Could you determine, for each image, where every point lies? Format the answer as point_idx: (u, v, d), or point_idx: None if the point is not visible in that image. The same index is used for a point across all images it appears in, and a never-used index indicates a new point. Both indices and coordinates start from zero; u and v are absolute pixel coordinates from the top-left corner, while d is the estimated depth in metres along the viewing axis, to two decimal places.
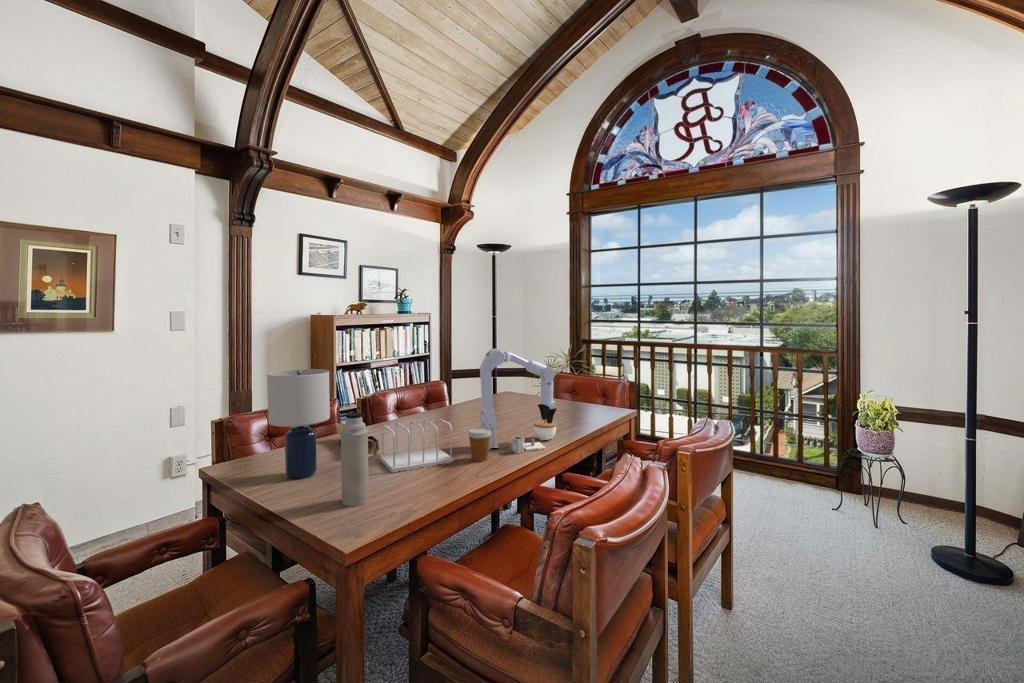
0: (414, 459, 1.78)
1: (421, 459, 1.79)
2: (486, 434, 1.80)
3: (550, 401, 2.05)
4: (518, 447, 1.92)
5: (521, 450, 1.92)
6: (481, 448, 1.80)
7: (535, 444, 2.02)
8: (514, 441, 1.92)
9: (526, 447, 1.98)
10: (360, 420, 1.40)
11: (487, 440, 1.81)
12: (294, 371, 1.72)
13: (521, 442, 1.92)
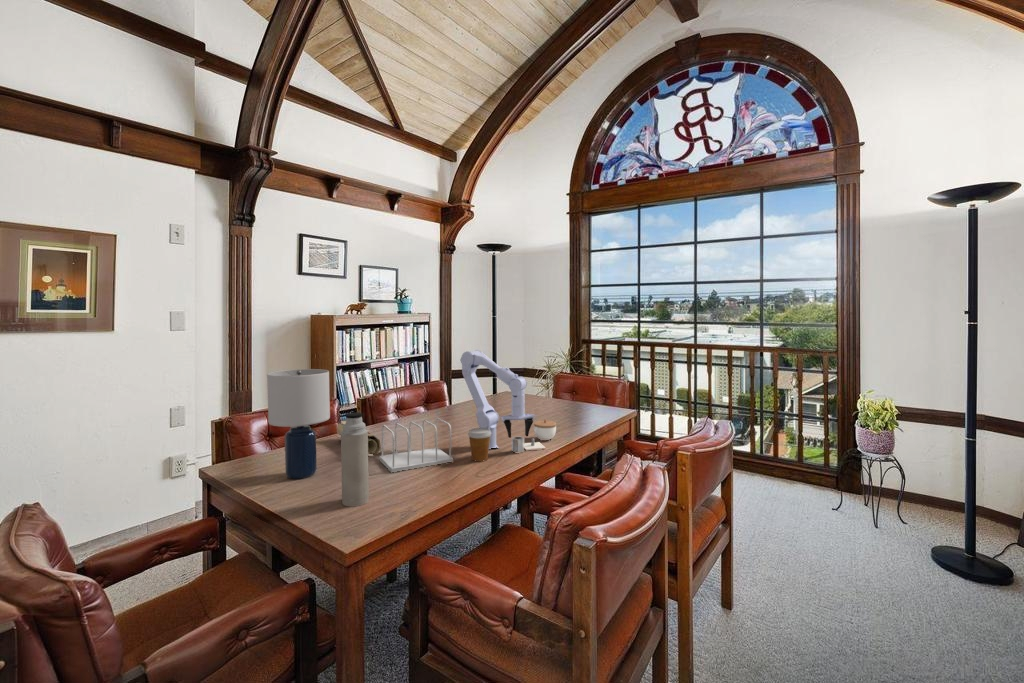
0: (414, 459, 1.78)
1: (420, 459, 1.79)
2: (486, 434, 1.80)
3: (512, 414, 1.92)
4: (518, 447, 1.92)
5: (521, 450, 1.92)
6: (481, 448, 1.80)
7: (535, 444, 2.02)
8: (514, 441, 1.92)
9: (526, 447, 1.98)
10: (360, 420, 1.40)
11: (487, 440, 1.81)
12: (294, 371, 1.72)
13: (521, 442, 1.92)
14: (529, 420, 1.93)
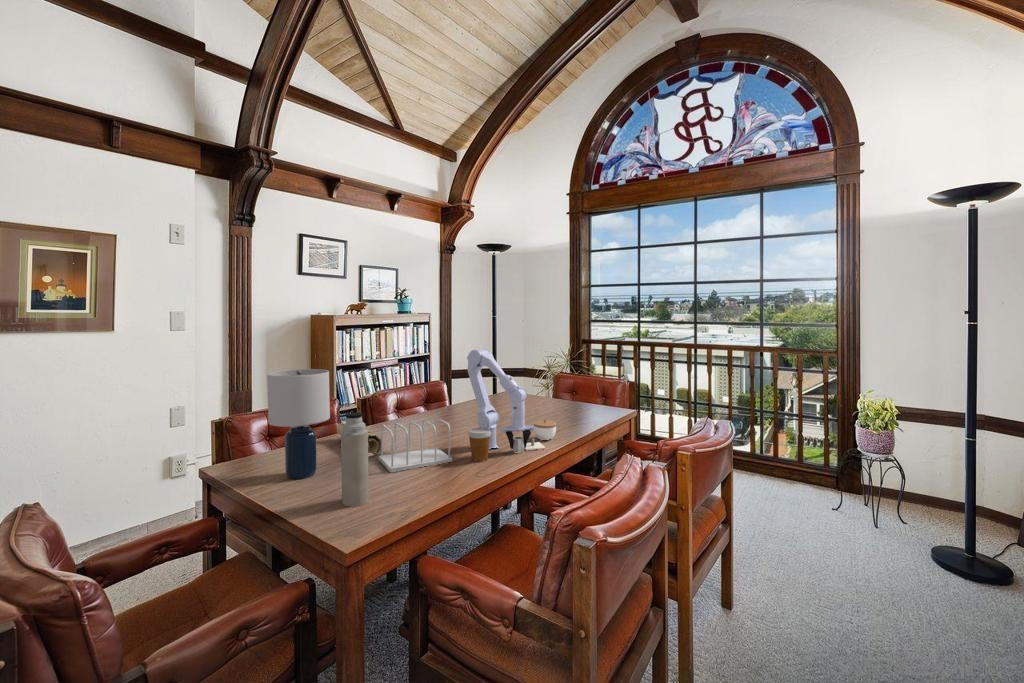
0: (413, 459, 1.78)
1: (419, 459, 1.79)
2: (486, 434, 1.80)
3: (512, 426, 1.93)
4: (518, 447, 1.92)
5: (521, 450, 1.92)
6: (481, 448, 1.80)
7: (535, 444, 2.02)
8: (514, 441, 1.92)
9: (526, 447, 1.98)
10: (360, 420, 1.40)
11: (487, 440, 1.81)
12: (294, 371, 1.72)
13: (521, 442, 1.92)
14: (529, 431, 1.94)
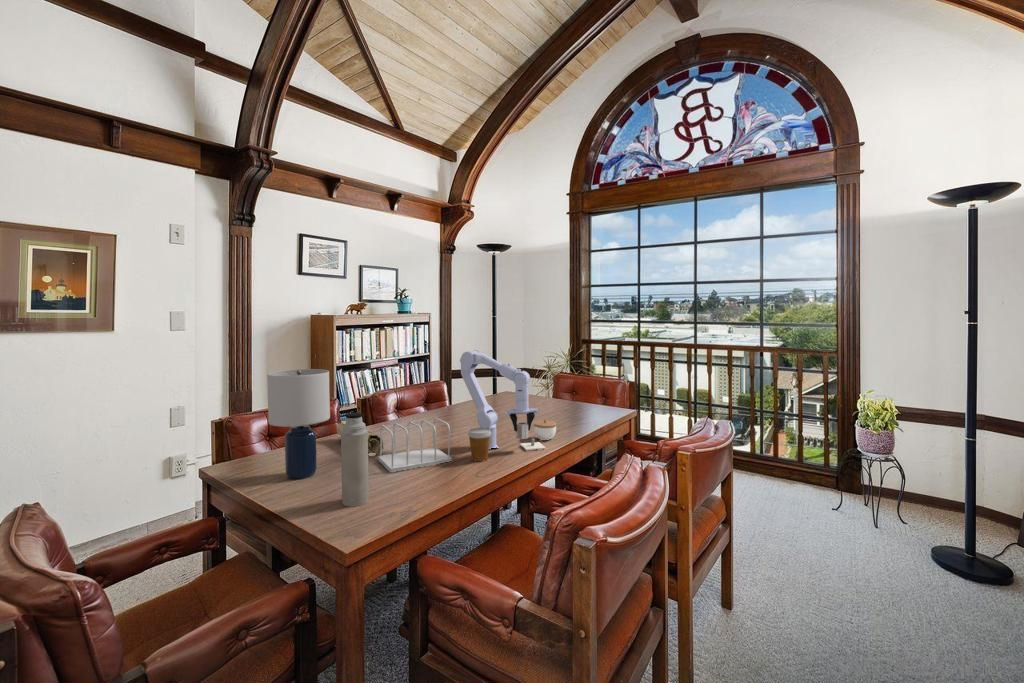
0: (412, 459, 1.78)
1: (419, 459, 1.79)
2: (486, 434, 1.80)
3: (516, 408, 1.94)
4: (522, 432, 1.93)
5: (525, 435, 1.93)
6: (481, 448, 1.80)
7: (535, 444, 2.02)
8: (518, 426, 1.93)
9: (526, 447, 1.98)
10: (360, 420, 1.40)
11: (487, 440, 1.81)
12: (294, 371, 1.72)
13: (525, 427, 1.93)
14: (533, 414, 1.95)
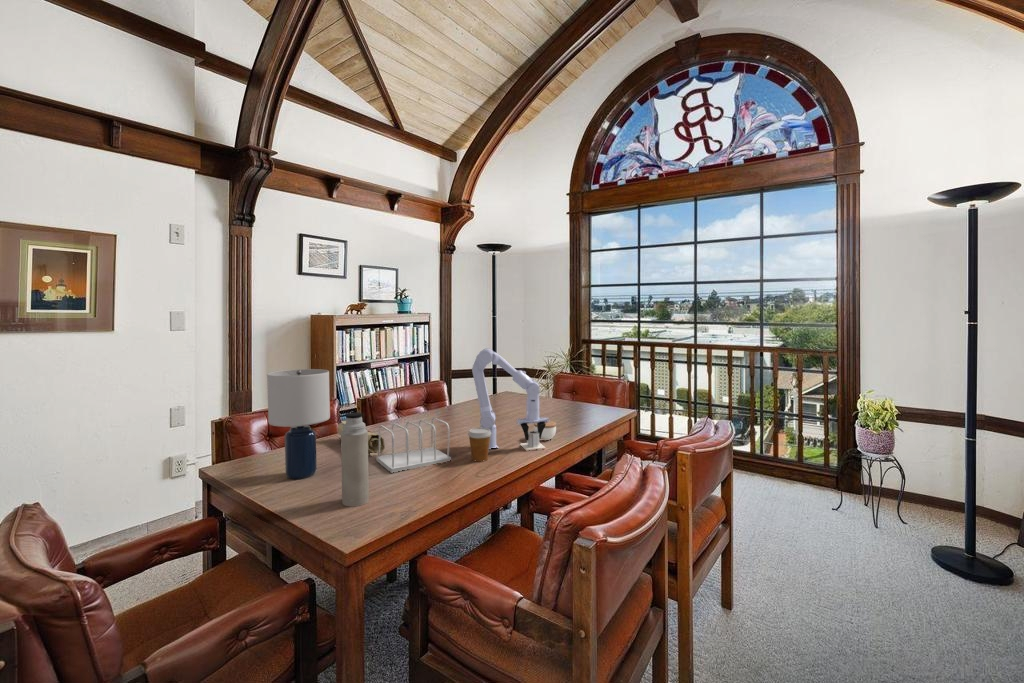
0: (412, 459, 1.78)
1: (418, 459, 1.79)
2: (486, 434, 1.80)
3: (527, 418, 1.98)
4: (533, 441, 1.98)
5: (536, 444, 1.98)
6: (481, 448, 1.80)
7: None
8: (529, 435, 1.98)
9: (526, 447, 1.98)
10: (360, 420, 1.40)
11: (487, 440, 1.81)
12: (294, 371, 1.72)
13: (536, 436, 1.98)
14: (543, 423, 2.00)
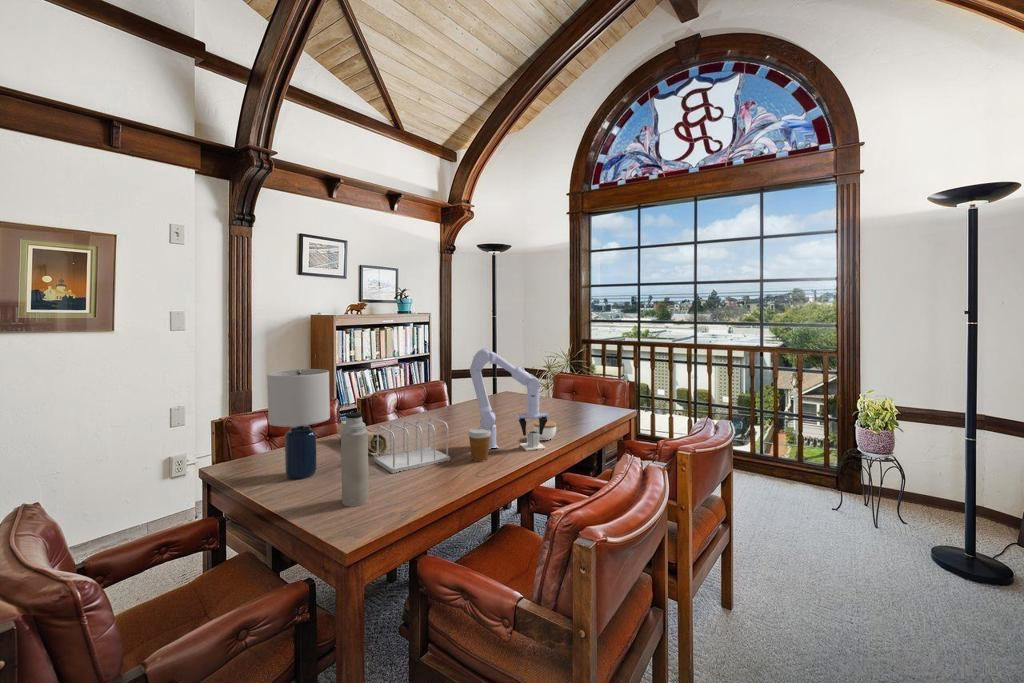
0: (411, 459, 1.78)
1: (418, 459, 1.79)
2: (486, 434, 1.80)
3: (527, 413, 1.98)
4: (533, 441, 1.98)
5: (536, 444, 1.98)
6: (481, 448, 1.80)
7: None
8: (529, 435, 1.98)
9: (526, 447, 1.98)
10: (360, 420, 1.40)
11: (487, 440, 1.81)
12: (294, 371, 1.72)
13: (536, 436, 1.98)
14: (543, 419, 1.99)
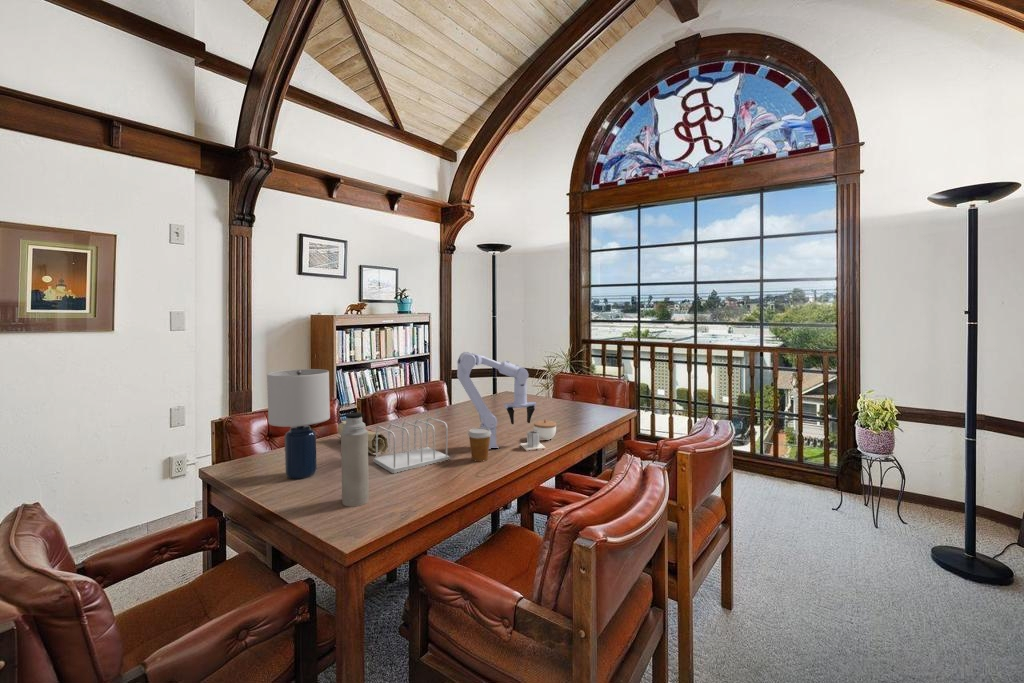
0: (411, 459, 1.78)
1: (417, 459, 1.79)
2: (486, 434, 1.80)
3: (515, 402, 2.03)
4: (533, 441, 1.98)
5: (536, 444, 1.98)
6: (481, 448, 1.80)
7: None
8: (529, 435, 1.98)
9: (526, 447, 1.98)
10: (360, 420, 1.40)
11: (487, 440, 1.81)
12: (294, 371, 1.72)
13: (536, 436, 1.98)
14: (531, 408, 2.04)
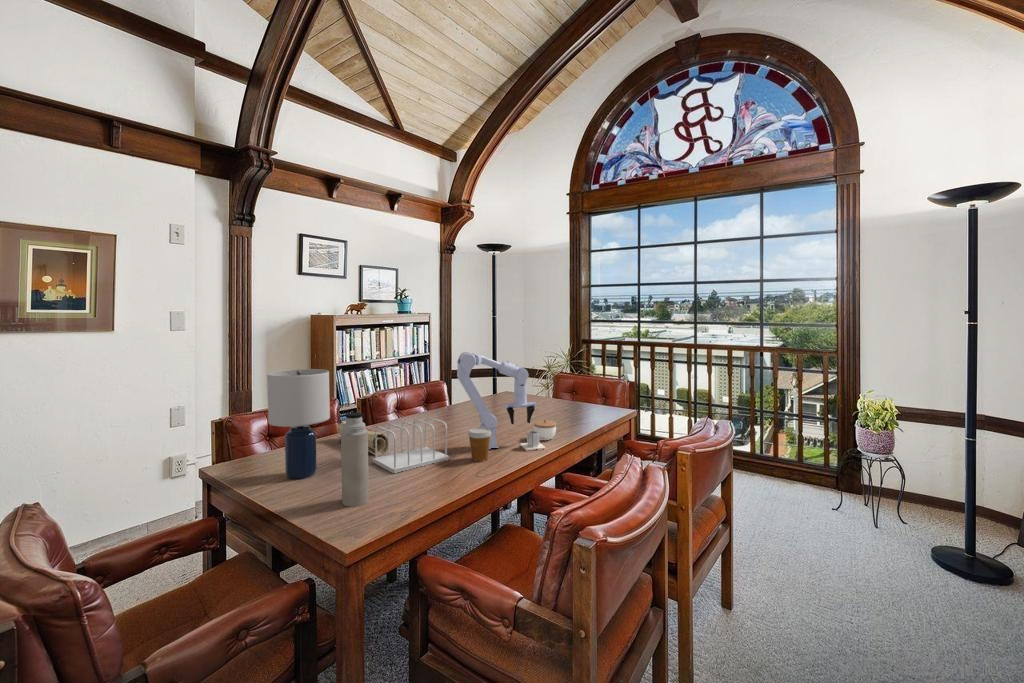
0: (410, 459, 1.78)
1: (417, 459, 1.79)
2: (486, 434, 1.80)
3: (515, 402, 2.03)
4: (533, 441, 1.98)
5: (536, 444, 1.98)
6: (481, 448, 1.80)
7: None
8: (529, 435, 1.98)
9: (526, 447, 1.98)
10: (360, 420, 1.40)
11: (487, 440, 1.81)
12: (294, 371, 1.72)
13: (536, 436, 1.98)
14: (531, 408, 2.04)
